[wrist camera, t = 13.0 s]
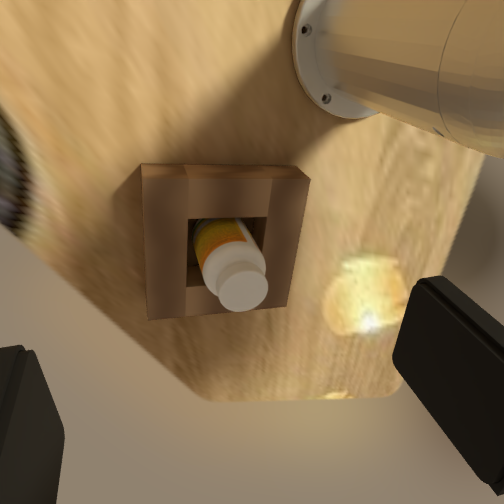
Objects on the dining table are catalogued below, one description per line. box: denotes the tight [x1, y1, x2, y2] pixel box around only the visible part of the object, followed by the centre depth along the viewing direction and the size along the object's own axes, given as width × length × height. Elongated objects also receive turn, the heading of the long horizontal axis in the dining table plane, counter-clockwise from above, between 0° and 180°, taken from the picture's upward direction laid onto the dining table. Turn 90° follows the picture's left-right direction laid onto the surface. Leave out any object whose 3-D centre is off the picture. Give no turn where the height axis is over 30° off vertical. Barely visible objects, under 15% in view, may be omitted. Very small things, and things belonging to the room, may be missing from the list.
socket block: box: [141, 164, 311, 320], centre depth 37 cm, size 14×14×4 cm
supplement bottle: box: [192, 217, 268, 312], centre depth 34 cm, size 5×5×10 cm
